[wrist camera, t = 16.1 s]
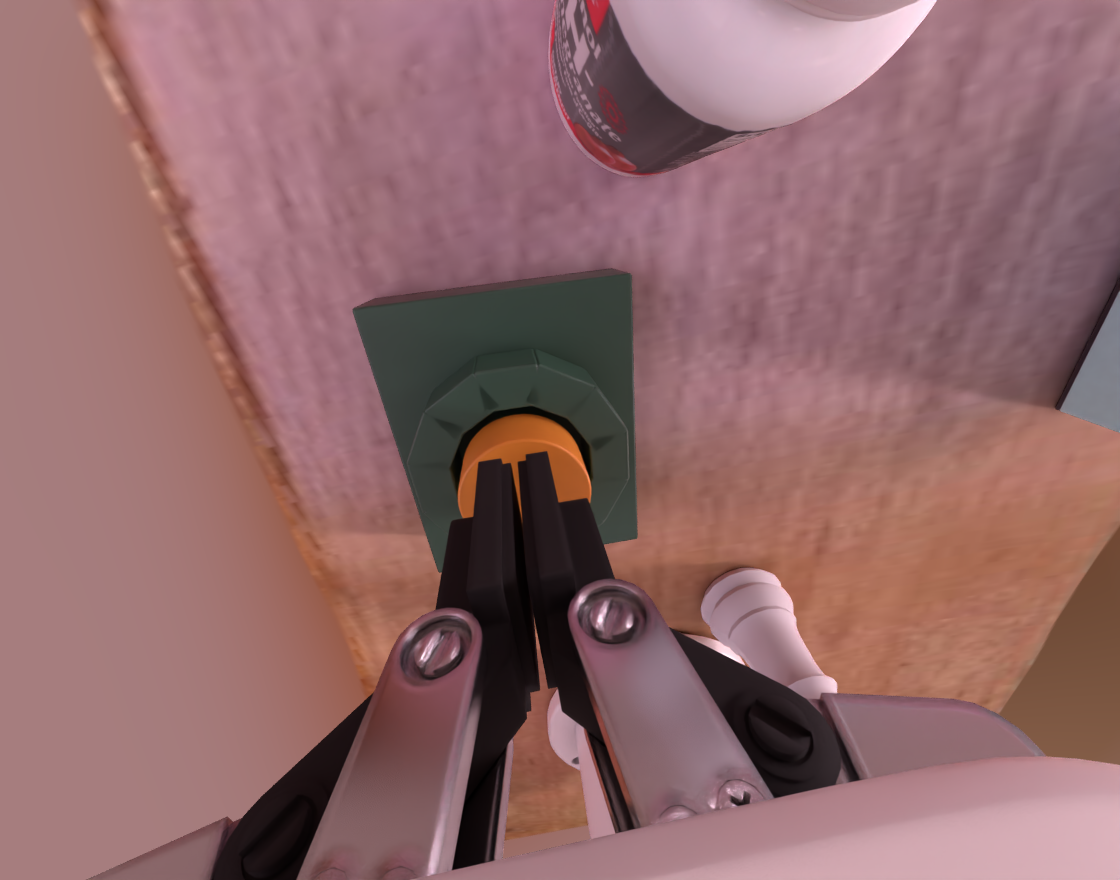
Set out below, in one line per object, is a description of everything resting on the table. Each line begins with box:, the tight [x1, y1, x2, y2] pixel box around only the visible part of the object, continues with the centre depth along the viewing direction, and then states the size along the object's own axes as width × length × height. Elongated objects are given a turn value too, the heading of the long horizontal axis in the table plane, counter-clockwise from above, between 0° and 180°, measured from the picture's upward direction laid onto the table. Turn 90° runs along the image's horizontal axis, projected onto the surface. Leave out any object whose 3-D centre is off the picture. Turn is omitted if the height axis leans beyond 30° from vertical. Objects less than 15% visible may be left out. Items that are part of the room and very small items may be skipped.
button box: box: [353, 269, 638, 573], centre depth 14 cm, size 10×8×4 cm
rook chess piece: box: [701, 568, 837, 699], centre depth 18 cm, size 4×4×8 cm
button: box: [458, 414, 591, 519], centre depth 12 cm, size 4×4×2 cm
